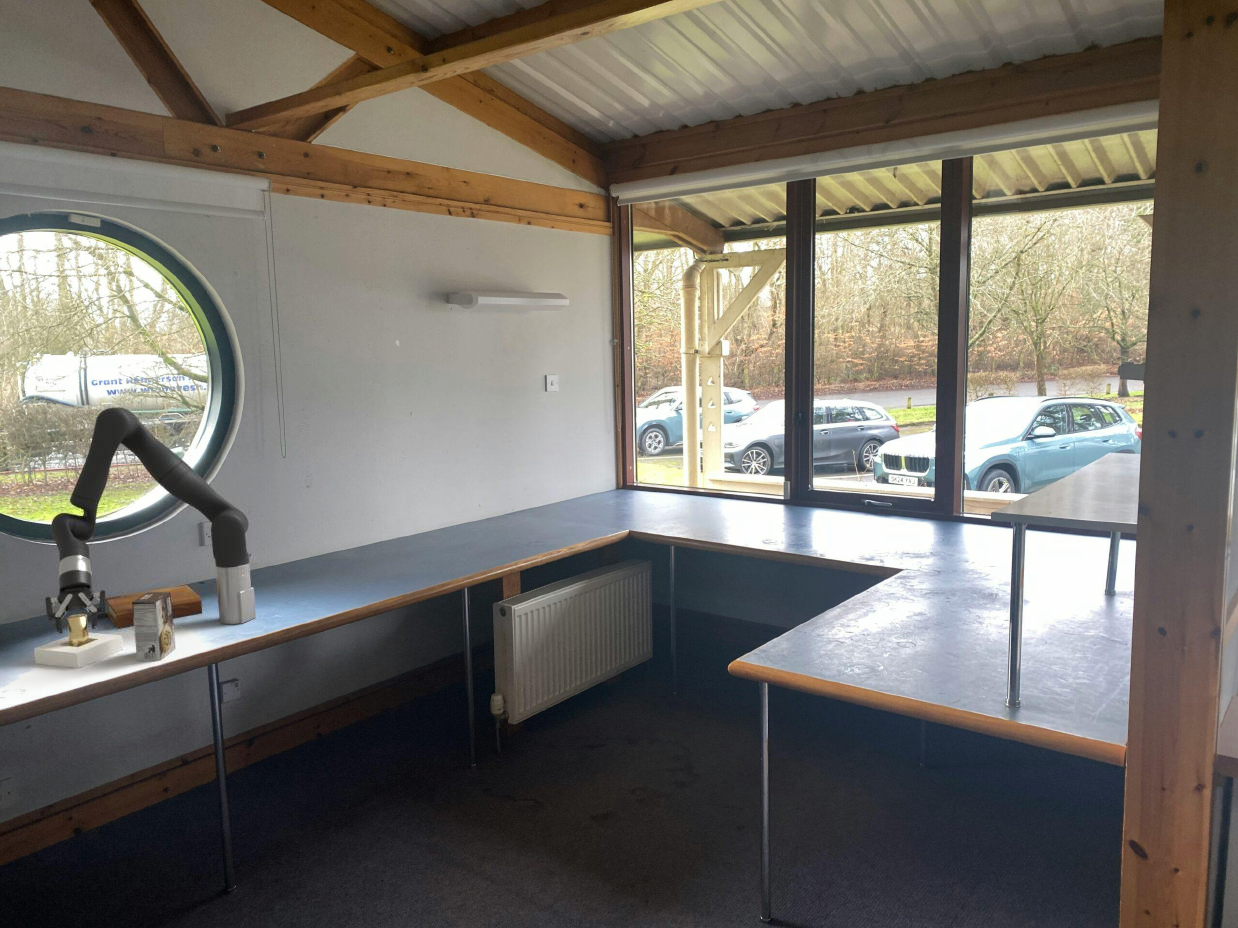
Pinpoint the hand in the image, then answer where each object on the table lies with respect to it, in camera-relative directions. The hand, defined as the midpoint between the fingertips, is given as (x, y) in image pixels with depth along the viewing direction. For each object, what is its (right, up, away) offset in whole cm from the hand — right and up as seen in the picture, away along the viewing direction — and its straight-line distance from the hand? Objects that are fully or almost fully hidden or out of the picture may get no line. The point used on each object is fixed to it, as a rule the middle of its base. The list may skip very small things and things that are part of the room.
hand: (77, 629), depth 227 cm
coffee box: (+19, -8, +3) cm, 21 cm away
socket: (-1, -8, +2) cm, 8 cm away
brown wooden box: (-1, -3, +40) cm, 40 cm away
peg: (-1, -8, +3) cm, 8 cm away
